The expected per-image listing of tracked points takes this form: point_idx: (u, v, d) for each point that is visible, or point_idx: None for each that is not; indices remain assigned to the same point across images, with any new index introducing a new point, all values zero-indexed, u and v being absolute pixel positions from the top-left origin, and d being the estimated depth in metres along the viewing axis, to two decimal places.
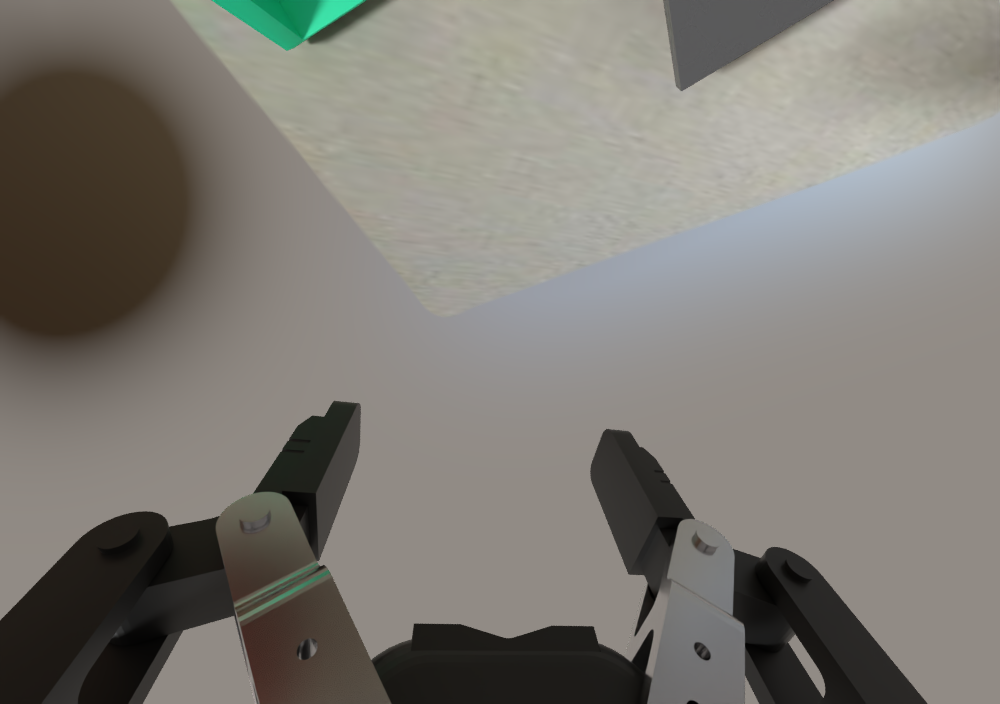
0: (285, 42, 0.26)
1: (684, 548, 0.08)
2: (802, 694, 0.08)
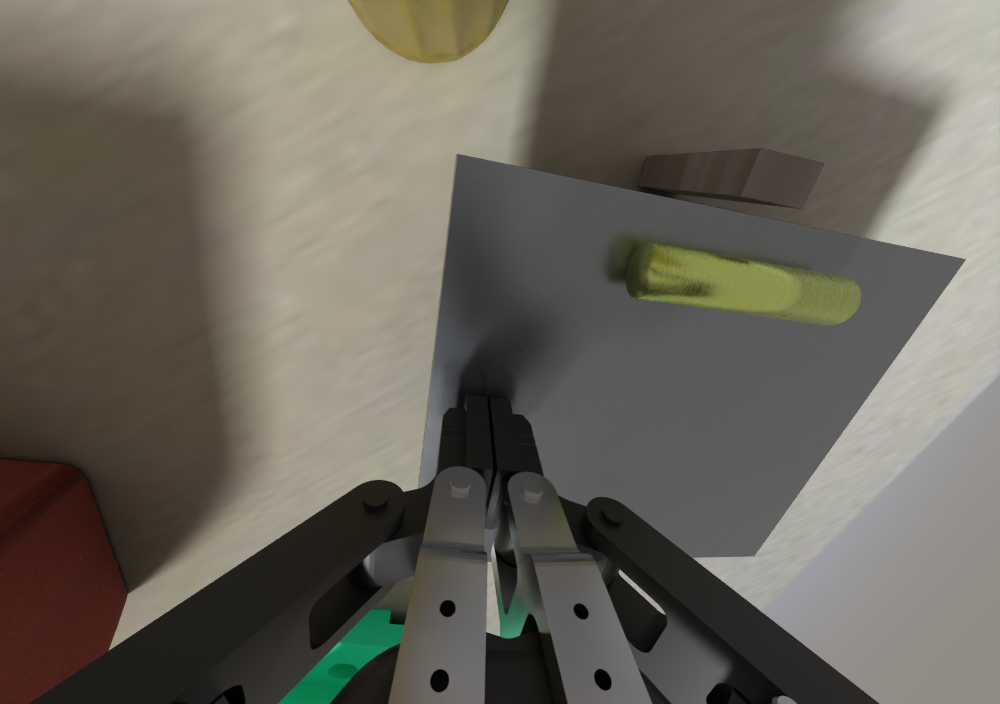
0: None
1: (521, 509, 0.08)
2: (638, 612, 0.09)
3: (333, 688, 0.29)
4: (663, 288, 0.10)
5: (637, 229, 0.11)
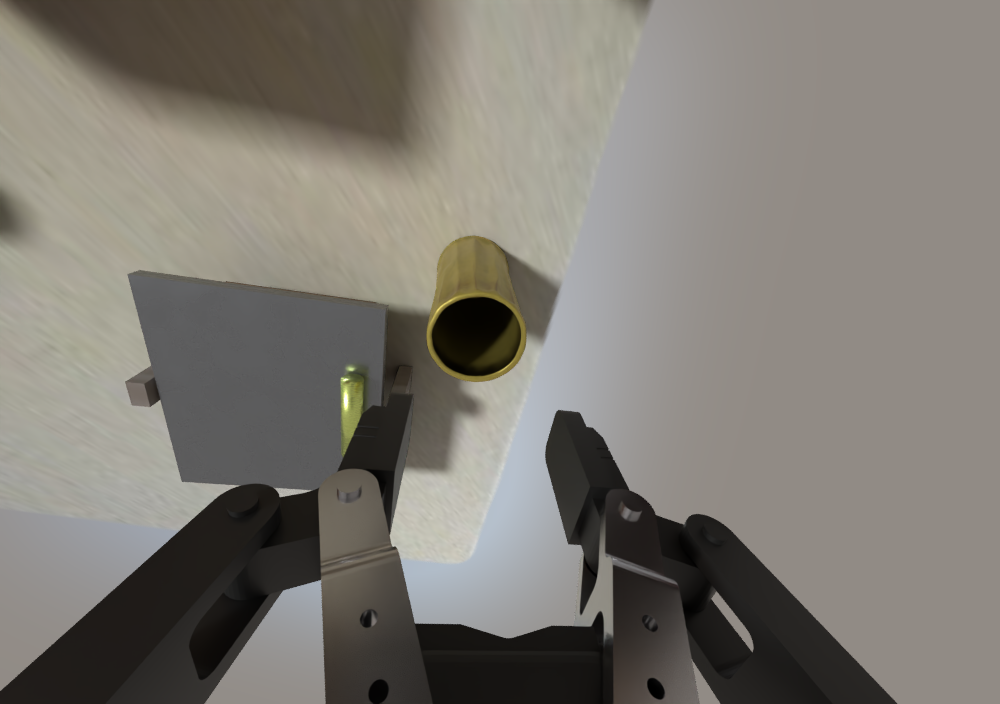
0: None
1: (614, 520, 0.08)
2: (728, 645, 0.08)
3: None
4: (345, 388, 0.27)
5: (369, 374, 0.28)
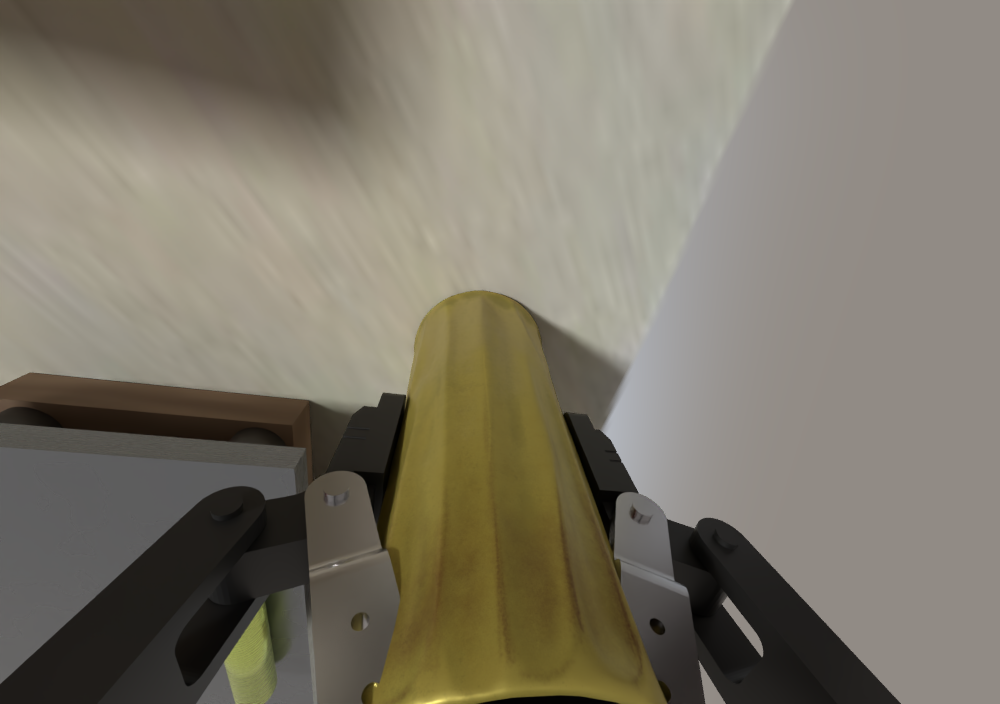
0: None
1: (624, 523, 0.08)
2: (738, 650, 0.08)
3: None
4: None
5: None
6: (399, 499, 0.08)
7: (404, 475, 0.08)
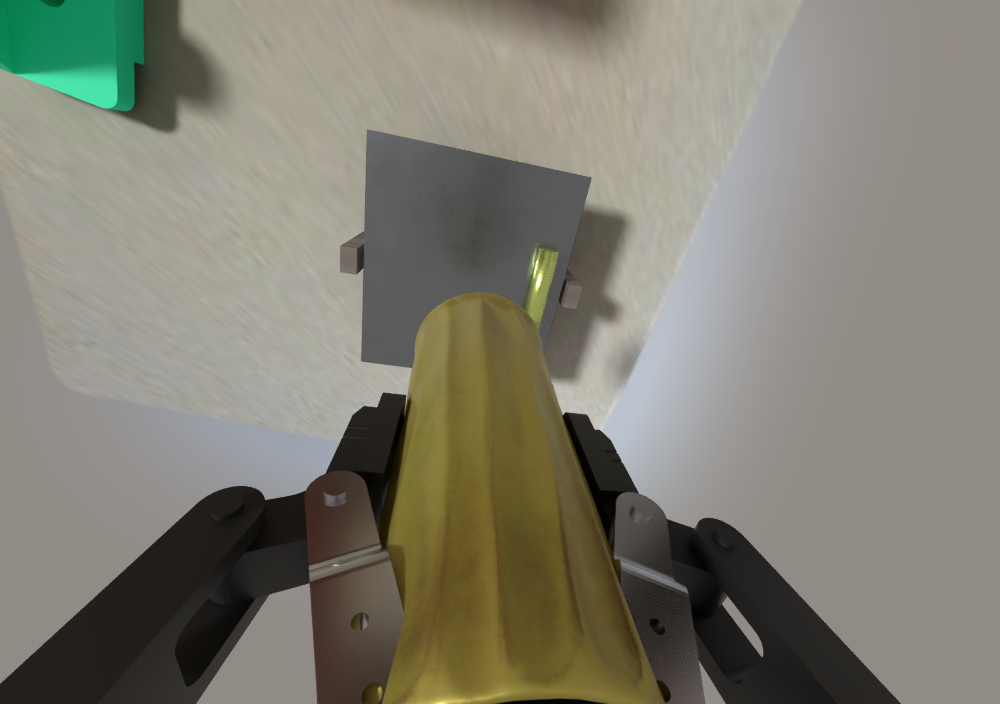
0: None
1: (624, 523, 0.08)
2: (738, 650, 0.08)
3: None
4: (546, 256, 0.28)
5: (559, 249, 0.30)
6: (400, 502, 0.08)
7: (405, 477, 0.08)
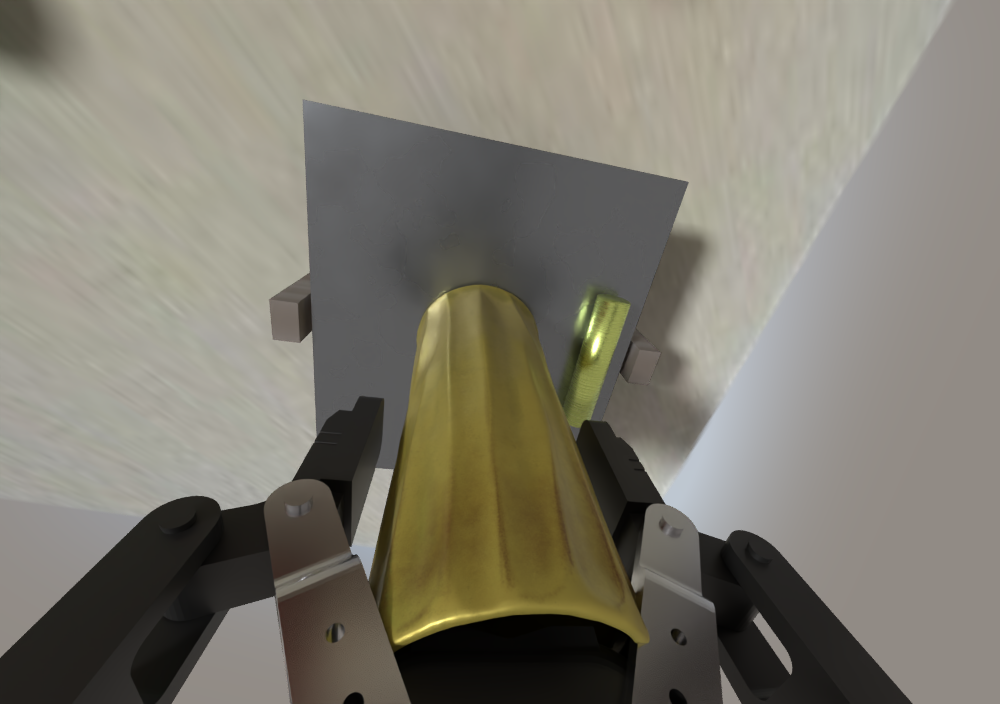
0: None
1: (653, 534, 0.08)
2: (768, 669, 0.08)
3: None
4: (612, 311, 0.17)
5: (627, 296, 0.18)
6: (409, 468, 0.08)
7: (413, 448, 0.09)
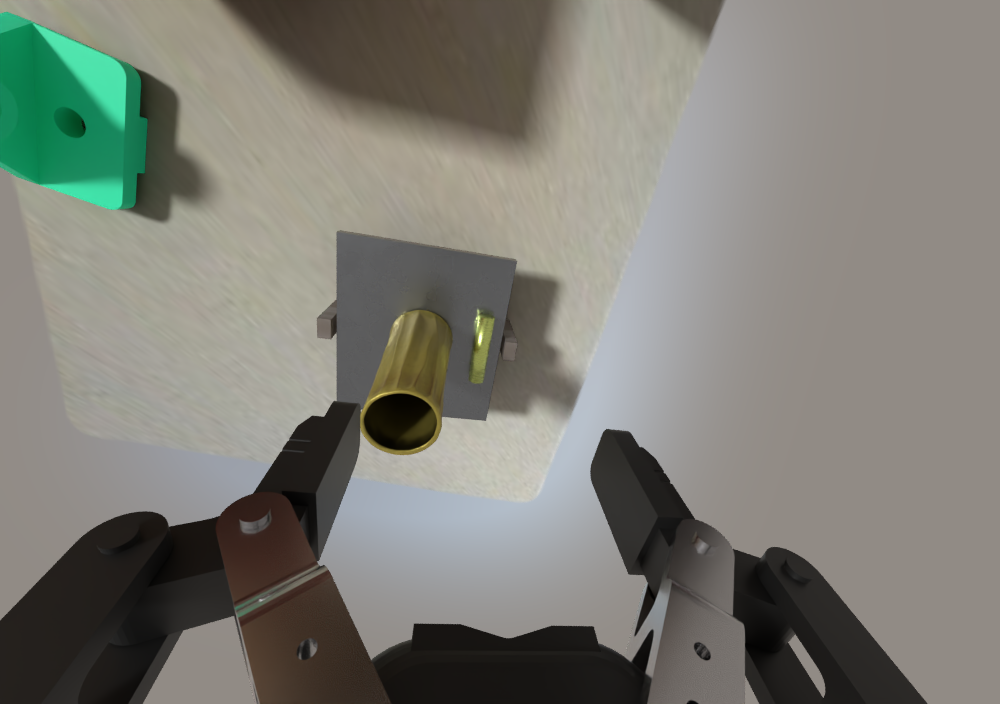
0: (17, 175, 0.31)
1: (684, 548, 0.08)
2: (802, 694, 0.08)
3: (33, 104, 0.30)
4: (484, 322, 0.35)
5: (496, 314, 0.37)
6: (378, 374, 0.26)
7: (379, 370, 0.27)
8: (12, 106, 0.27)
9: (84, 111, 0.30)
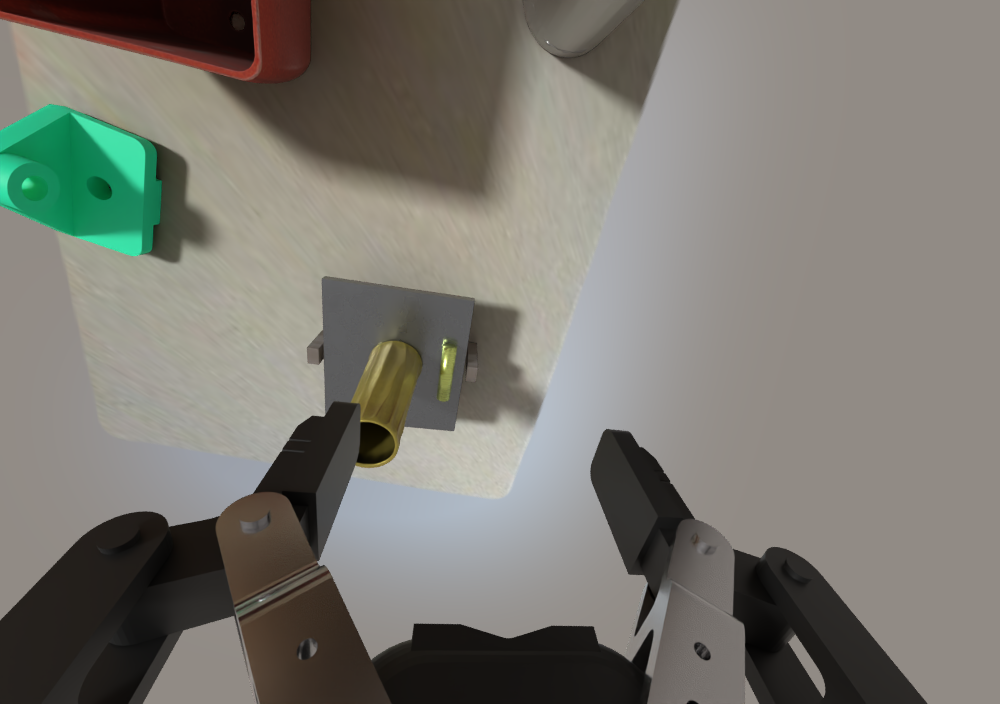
0: (56, 229, 0.38)
1: (684, 548, 0.08)
2: (802, 694, 0.08)
3: (70, 174, 0.36)
4: (447, 352, 0.42)
5: (459, 344, 0.43)
6: None
7: (353, 399, 0.34)
8: (55, 183, 0.33)
9: (111, 179, 0.37)
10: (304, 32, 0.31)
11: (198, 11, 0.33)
